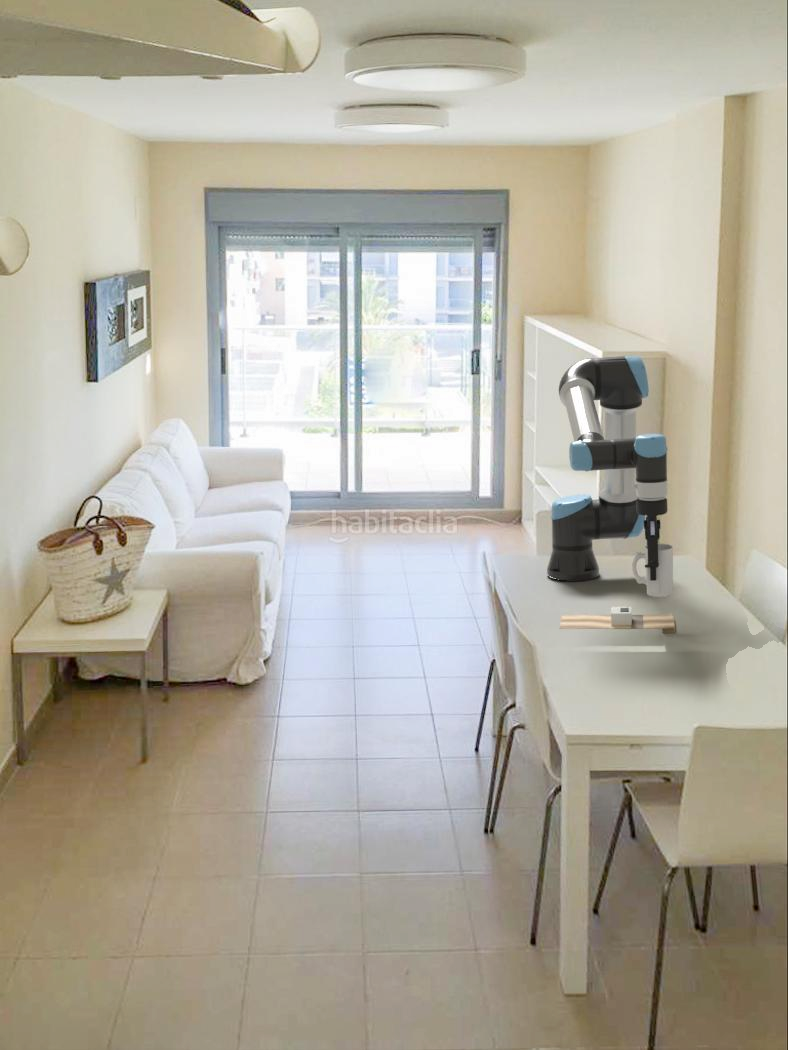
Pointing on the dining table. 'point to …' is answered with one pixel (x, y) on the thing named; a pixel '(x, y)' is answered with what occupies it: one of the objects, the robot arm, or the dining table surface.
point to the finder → (621, 616)
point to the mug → (664, 569)
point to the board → (605, 623)
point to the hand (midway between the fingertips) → (653, 588)
